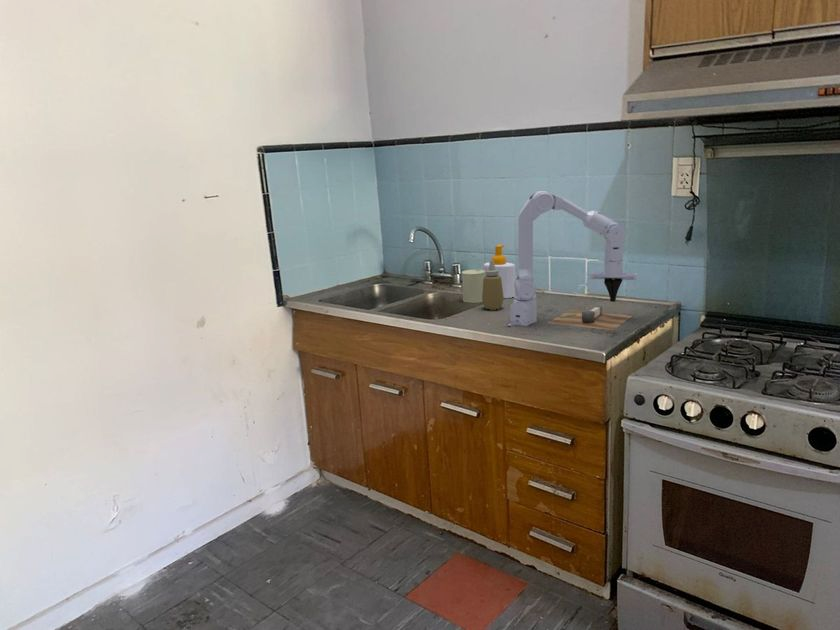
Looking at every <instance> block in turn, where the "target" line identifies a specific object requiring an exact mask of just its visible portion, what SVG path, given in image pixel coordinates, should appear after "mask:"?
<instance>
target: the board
mask: <svg viewBox="0 0 840 630" xmlns="http://www.w3.org/2000/svg"><path fill="white" fill-rule="evenodd" d="M582 312H583V310H574V309H569V310H567V311H565V312H564V313H562V314H561V315H558V316H557V317H554V318H553V319H551V320H550V321H548V322H547V324H551V325H552V324H553V325H561V326H570V327H571V326H572V327H579V328H580V327H581V328H589V329H598V330H599V329H600V330H607V331H615V330H616V329H617V328H619V327H620V326H621V325H622V324H624V323H626V322H627V321H628V320H630V319H631V318H632V317H633V315H626V314H617V313H605V312H602V314H600V315H599V316H597V317H596V318H595V321H594V322H592V323H585V322H582Z"/></svg>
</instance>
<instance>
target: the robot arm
mask: <svg viewBox="0 0 840 630" xmlns="http://www.w3.org/2000/svg"><path fill="white" fill-rule="evenodd" d="M551 210H553V211H560V210H561V211H563V212H565V213H568V214H570V215H572V216H574V217H576V218H577V219H580V220H581V221H582V224H583V226H584V227H585V228H587V229H589V230H591V231H592V232H594V233H596V234H598V235H599V236H603V237H604V239H605V240H604V266H603V267H604V268H603V269H604V271H600V272H599V271H598V272H590V273H589V279H590V280H604V281H603V283H604V286H605V288H606V289H607V292H608V296H609V299H610V300H609V301H610V302H611V303H614V302H616V301H617V294H618V292H619V289H620V286H621V284H622V282H623V281H624V280H625V281H637V280H638V273H637V272H636V273H633V272H624V271H623V270H624V239H625V238H626V235H627V232H626V229H625V228H624V226H623V225H621V224H619V223H618V222H616V221H615V220H614V219H613V218H611V217H610V218H608V217H607V216H606V215H603V214H602V211H599V210H592V209H591V210H590V211H589V210H588V211H587V210H585V209H584V208H582V207H580V206H578V205H576V204H575V203H573V202H572V201H570V200H568V199H566V197H562V196H560V195H557V194H553V193H552V192H550V191H546V190H544V189H539V190H536V191H534V192H533V193H532V194H531V195H529V196H528V198H527V200H526V202H525V204H524V205H523V206H522V207H521V209H520V210H519V211H520V212H518V217H517V222H518V223H517V232H518V233H517V235H518V236H517V246H518V247H517V251H518V252H517V272H516V273H517V274H516V278H515V284H514V286H515V296H514V297H513V298H514V300H513V302H512V303H511V305H510V307H509V323H508V324H507V326H508V327H514V326H525V327H527V326H529V325H531V324H535V323H537V321H538V320H537V295H536V292H537V287H536V284H535V283H534V273H533V272H534V271H533V267H534V265H533V262H534V261H533V259H534V258H533V257H534V256H533V253H534V252H533V251H534V250H533V249H534V248H533V247H534V242H533V241H534V239H533V238H534V236H533V235H534V221H535V220H537V218H539V217H540V216H541V215H543V214H545V213H547V212H549V211H551Z"/></svg>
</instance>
